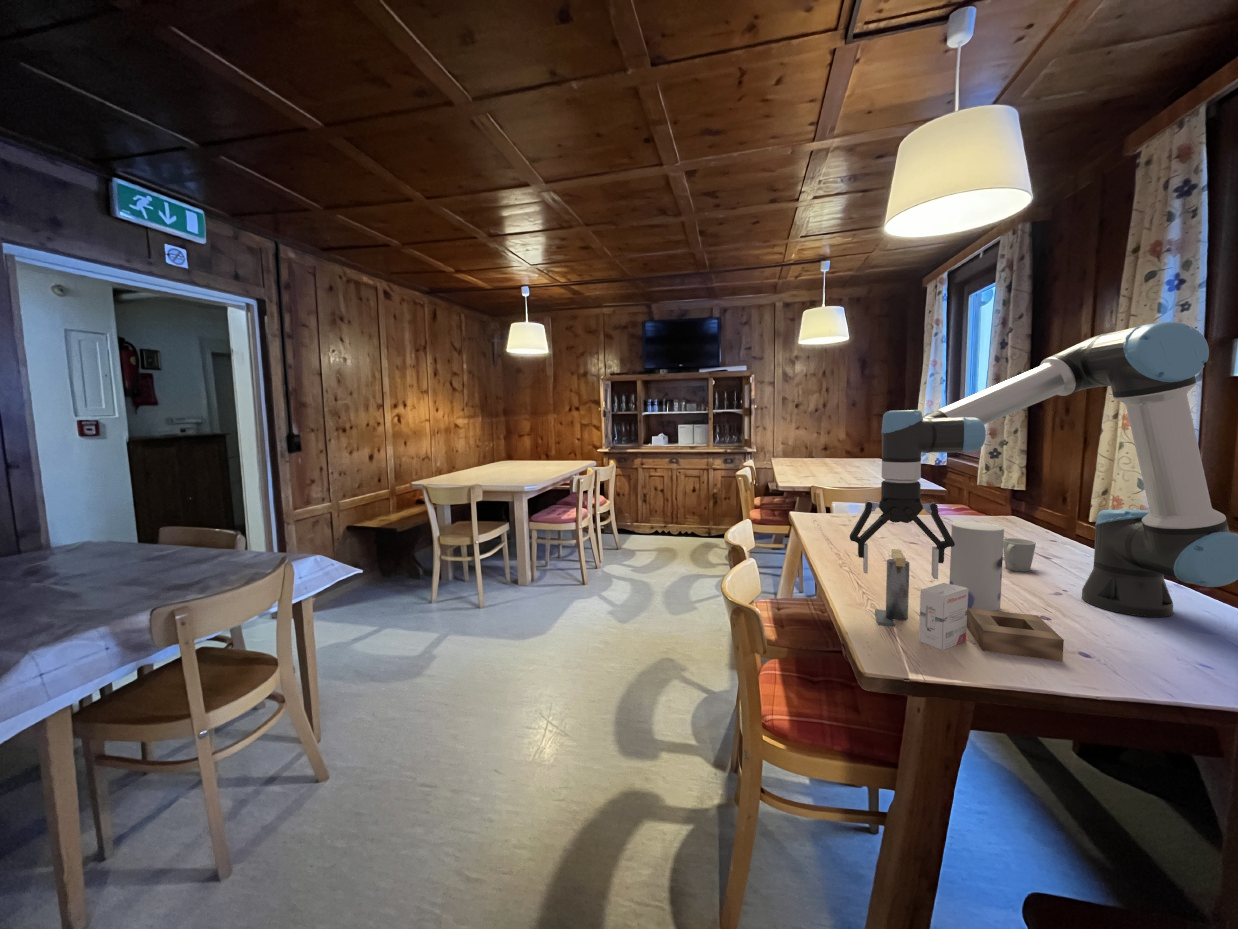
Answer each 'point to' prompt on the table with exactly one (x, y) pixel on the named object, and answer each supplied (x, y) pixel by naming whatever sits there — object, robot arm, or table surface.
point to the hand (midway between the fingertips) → (899, 574)
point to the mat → (883, 618)
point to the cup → (1018, 554)
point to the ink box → (943, 615)
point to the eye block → (1014, 634)
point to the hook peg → (897, 586)
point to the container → (978, 562)
